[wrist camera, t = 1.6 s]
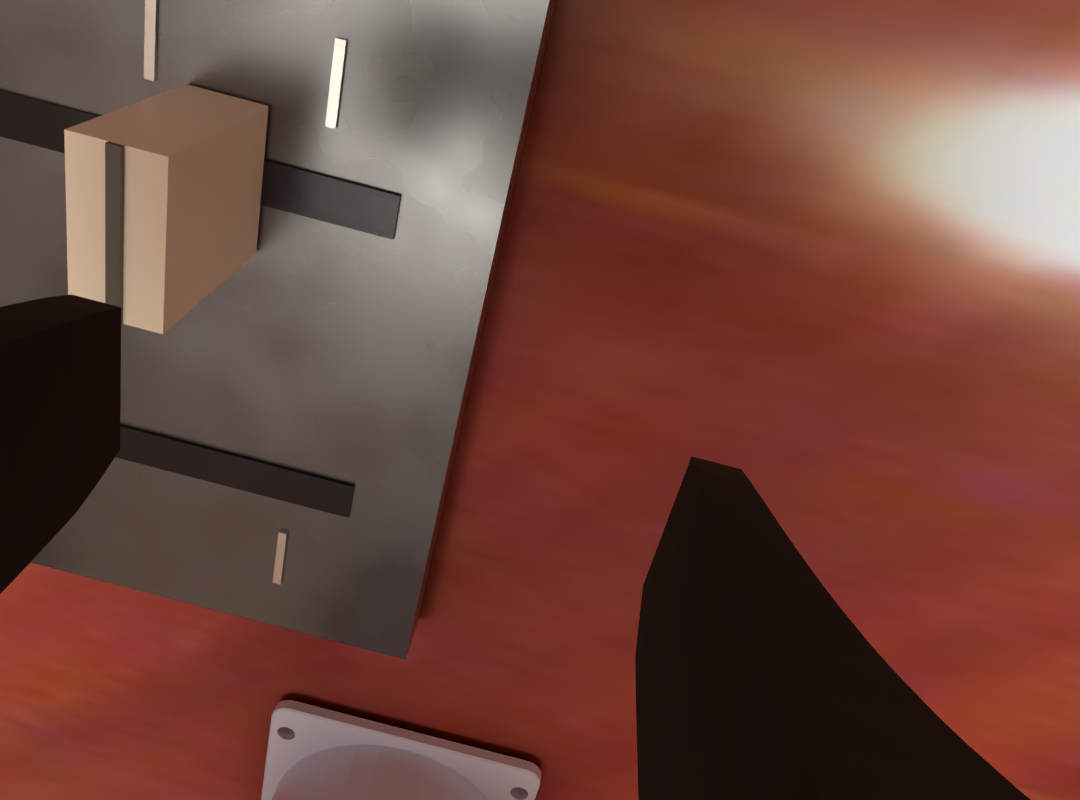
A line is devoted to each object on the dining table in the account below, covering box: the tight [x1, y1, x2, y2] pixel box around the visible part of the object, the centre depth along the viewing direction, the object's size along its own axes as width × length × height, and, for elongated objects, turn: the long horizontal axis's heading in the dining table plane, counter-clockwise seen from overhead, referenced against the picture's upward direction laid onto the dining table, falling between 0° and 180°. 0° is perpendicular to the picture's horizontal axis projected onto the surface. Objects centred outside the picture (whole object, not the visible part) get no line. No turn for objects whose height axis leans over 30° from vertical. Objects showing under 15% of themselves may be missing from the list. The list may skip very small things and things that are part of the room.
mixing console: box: [0, 0, 556, 659], centre depth 20 cm, size 17×21×2 cm
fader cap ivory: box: [64, 84, 268, 334], centre depth 16 cm, size 3×2×4 cm, turn 167°
